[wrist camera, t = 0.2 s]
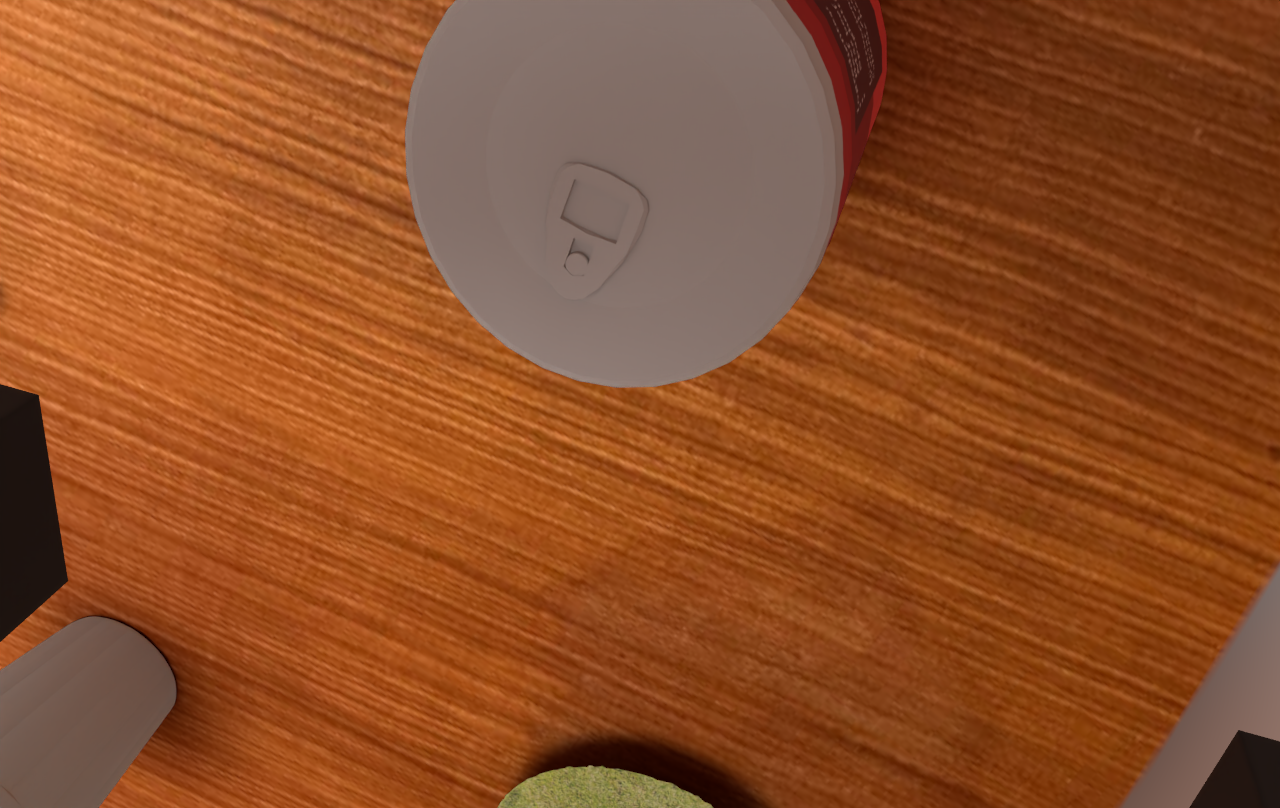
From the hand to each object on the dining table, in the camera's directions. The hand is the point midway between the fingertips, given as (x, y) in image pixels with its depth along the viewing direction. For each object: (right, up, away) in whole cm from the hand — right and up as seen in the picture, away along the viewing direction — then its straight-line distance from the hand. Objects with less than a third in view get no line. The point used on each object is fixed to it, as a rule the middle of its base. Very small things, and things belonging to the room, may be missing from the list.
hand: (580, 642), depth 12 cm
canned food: (+3, +11, +16) cm, 20 cm away
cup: (-21, -8, +34) cm, 41 cm away
